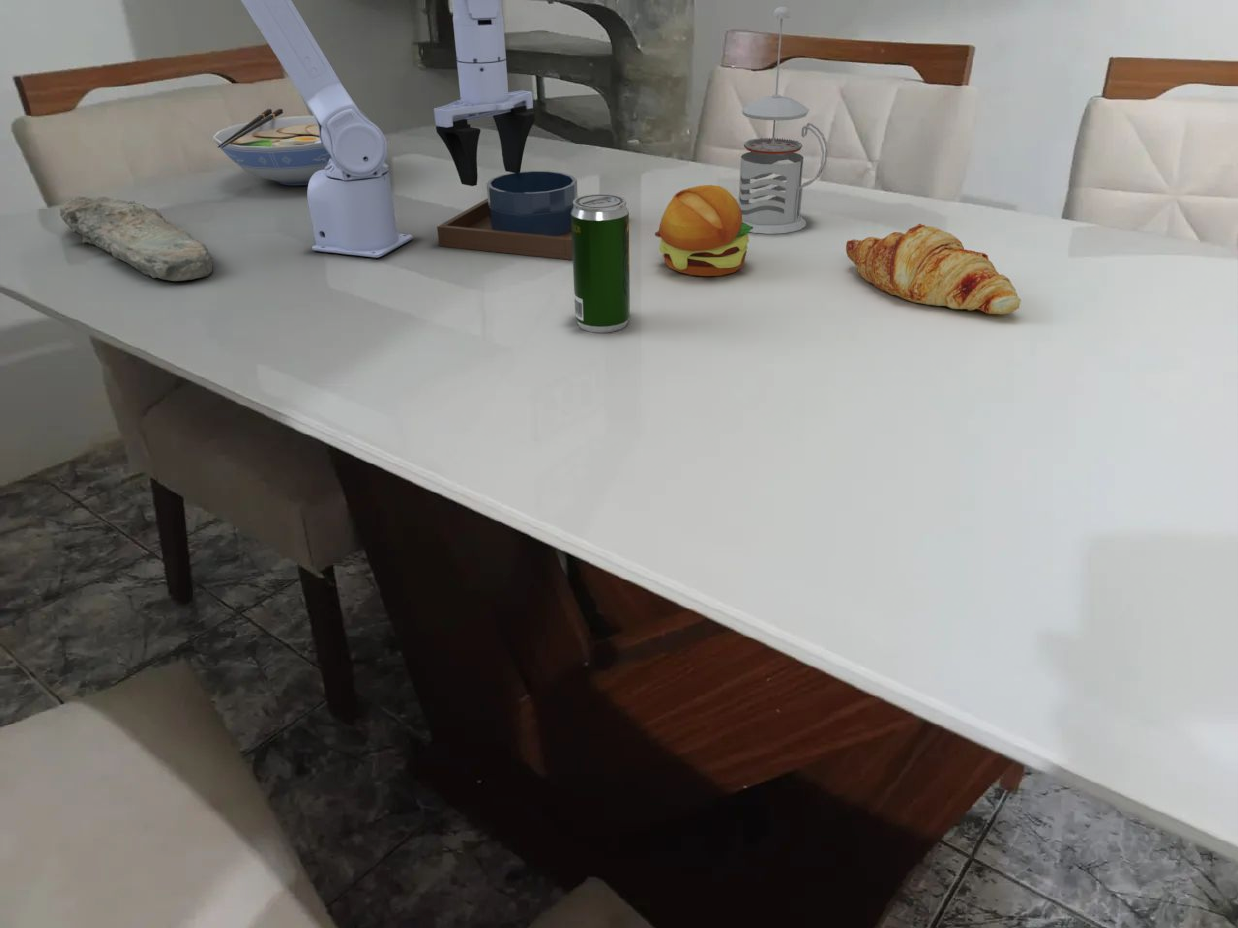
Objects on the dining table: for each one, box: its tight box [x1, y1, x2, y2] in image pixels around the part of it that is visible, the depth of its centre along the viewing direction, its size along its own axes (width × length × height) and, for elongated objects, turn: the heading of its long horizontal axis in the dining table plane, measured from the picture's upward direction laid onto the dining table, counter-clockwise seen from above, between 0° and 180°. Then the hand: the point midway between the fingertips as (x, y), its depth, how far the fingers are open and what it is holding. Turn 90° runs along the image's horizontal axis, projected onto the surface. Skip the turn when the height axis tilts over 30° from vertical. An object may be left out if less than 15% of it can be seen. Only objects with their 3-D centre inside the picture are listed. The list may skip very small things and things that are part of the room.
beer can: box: [571, 193, 631, 334], centre depth 89 cm, size 5×5×12 cm
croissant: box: [845, 223, 1021, 315], centre depth 96 cm, size 21×10×8 cm, turn 39°
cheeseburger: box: [654, 184, 753, 277], centre depth 103 cm, size 10×11×10 cm
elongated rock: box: [59, 195, 213, 282], centre depth 113 cm, size 35×5×10 cm
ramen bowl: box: [212, 108, 332, 186], centre depth 140 cm, size 25×23×8 cm
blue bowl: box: [486, 170, 579, 236], centre depth 117 cm, size 11×11×6 cm
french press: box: [737, 6, 829, 235], centre depth 113 cm, size 10×12×25 cm
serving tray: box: [436, 197, 573, 261], centre depth 117 cm, size 18×17×2 cm
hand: (491, 178), depth 116 cm, fingers open, 7 cm apart
